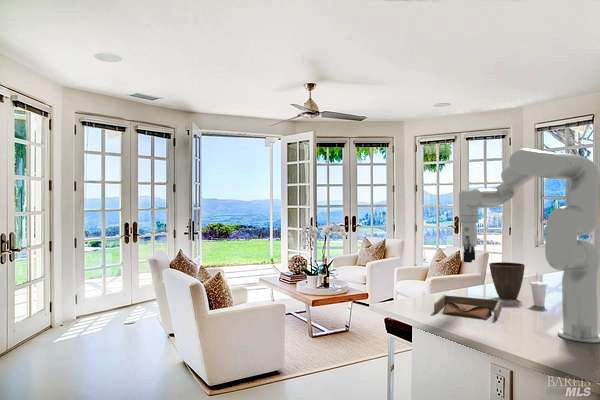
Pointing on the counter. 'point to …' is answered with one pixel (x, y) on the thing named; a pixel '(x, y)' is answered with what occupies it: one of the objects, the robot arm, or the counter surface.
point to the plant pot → (507, 279)
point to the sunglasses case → (467, 311)
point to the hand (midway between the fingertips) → (469, 260)
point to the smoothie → (538, 292)
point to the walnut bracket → (469, 303)
